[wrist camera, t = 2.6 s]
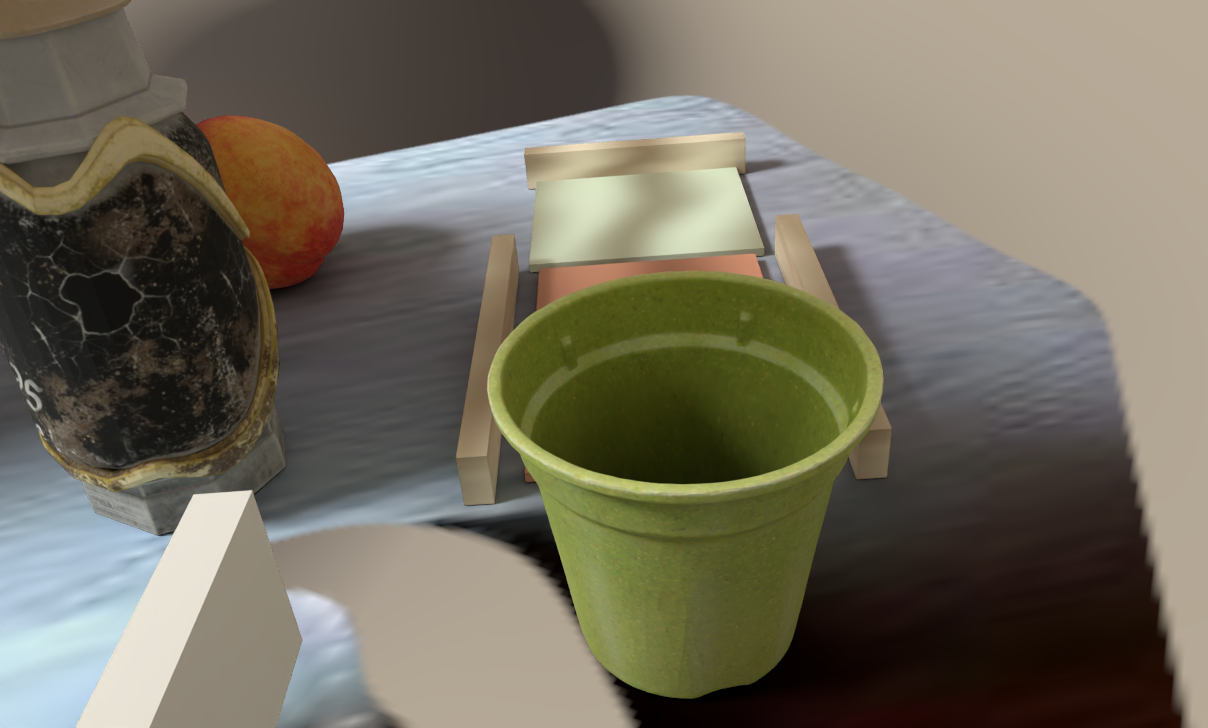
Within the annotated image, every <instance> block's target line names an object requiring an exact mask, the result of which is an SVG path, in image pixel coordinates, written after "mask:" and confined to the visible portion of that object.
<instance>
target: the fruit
mask: <svg viewBox="0 0 1208 728" xmlns="http://www.w3.org/2000/svg"><path fill="white" fill-rule="evenodd" d="M196 126H197V127H198V128H199V129H200V130H201V131H202V132H203V133H204V135H205V136H206V138H207V139H208V141H209V142H210V145H211V148H212V151H213V154H214V157H215V160H216V163H217V166H218V169H219V172H220V175H221V178H222V182H223V185H224V188H225V191H226V194H227V196H228V198H229V199H230V201H231V202H232V204H233V205H234V207H235V208H236V210H237V211H238V213H239V215H240V216H241V218H242V220H243V221H244V223H245V225H246V227H247V228H248V230H249V231H250V235H249V238H244V239H243V240H242V243H243V245H244V246H245V247H246V248H247V249H248V250H249V251H250V252H251V253H252V255H253V256H254V257H255V258H256V260H257V261H258V263H259V265H260V267H261V269H262V271H263V273H264V276H265V278H266V281H267V284H268V287H269V289H274V288H283V287H288V286H292V285H295V284H297V283H300V282H303V281H305V280H306V279H308V278H310V277H311V276H312V275H314V274H315V273H316V272H317V271H318V269H319V267H320V266H321V264H322V263H323V261H324V257H325V256H326V255H327V254H328V253H330V252H331V251H332V249H333V248H334V246H335V245H336V243H337V242H338V240H339V237H340V235H341V232H342V229H343V221H344V208H343V202H342V196H341V192H340V188H339V185H338V182H337V180H336V178H335V176H334V175H333V173H332V172H331V170H330V169H329V167H328V166H327V164H326V163H325V162H324V160H323V159H322V157H321V156H320V155H319V153H318V152H316V151H315V150H314V149H313V148H312V147H311V146H309V145H308V144H307V143H306V142H305V141H303V140H302V139H301V138H299V137H298V136H297V135H295V134H294V133H292V132H291V131H289V130H287V129H285V128H283V127H280V126H278V125H276V124H273V123H270V122H266V121H263V120H260V119H256V118H251V117H245V116H219V117H215V118H210V119H207V120H204V121H202V122H200V123H198V124H196Z"/></svg>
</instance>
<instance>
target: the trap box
mask: <svg viewBox="0 0 1208 728" xmlns="http://www.w3.org/2000/svg"><path fill="white" fill-rule="evenodd" d="M745 141H746V139H745V136H744V133H743V132H738V133H724V134H711V135H697V136H684V137H670V138H656V139H643V140H629V141H616V142H602V143H588V144H575V145H561V146H548V147H534V148H525V153H524V157H525V165H526V174H527V182H528V189H536V193H535V204H534V215H533V226H532V237H531V248H530V259H529V269H530V272H539V279H538V293H537V307H536V311H537V310H539V309H541V308H543V307H545V306H546V305H548V304H549V303H551V302H553V301H556V300H557V299H559V298H561V297H563V296H566V295H568V294H571V293H573V292H576V291H579V290H581V289H584V288H586V287H590V286H593V285H596V284H599V283H603V282H606V281H611V280H615V279H619V278H624V277H629V276H635V275H641V274H651V273H659V272H668V271H670V272H676V271H719V272H729V273H738V274H744V275H749V276H756V277H759V278H763V276H762V273H761V270H760V267H759V264H758V261H757V258H756V256H764V246H763V243H762V240H761V237H760V234H759V231H758V228H757V225H756V223H755V220H754V217H753V214H752V211H751V208H750V205H749V202H748V200H747V197H746V194H745V191H744V188H743V185H742V182H741V180H740V177H739V174H744V173H745ZM775 257H776V259H777V262H778V265H779V268H780V270H781V273H782V276H783V279H784V281H785V284H786V285H788V286H791V287H795V288H797V289H799V290H802V291H805V292H807V293H809V294H812V295H814V296H816V297H818V298H820V299H822V300H824V301H826V302H828V303H829V304H831V305H833V306H835V307H836V308H838V309H839V307H838V304H837V302H836V300H835V298H834V295H833V293H832V291H831V288H830V286H829V284H828V282H827V279H826V277H825V275H824V273H823V270H822V268H821V266H820V263H819V261H818V259H817V257H816V254H815V252H814V250H813V247H812V245H811V243H810V241H809V238H808V236H807V234H806V232H805V229H804V227H803V225H802V222H801V220H800V218H799V216H798V214H791V215H777V216H776V231H775ZM518 280H519V267H518V259H517V251H516V244H515V236H514V234H513V235H499V236H493V237H492V243H491V249H490V255H489V261H488V267H487V273H486V279H485V285H484V291H483V297H482V303H481V309H480V315H479V321H478V327H477V333H476V339H475V345H474V351H473V357H472V363H471V369H470V375H469V381H468V387H467V393H466V399H465V405H464V411H463V417H462V423H461V429H460V435H459V441H458V447H457V453H456V462H457V468H458V473H459V478H460V483H461V489H462V494H463V499H464V505H478V504H493V503H495V494H496V485H497V476H498V467H499V457H500V448H501V439H502V433H501V431H500V429H499V428H498V426H497V424H496V422H495V419H494V417H493V414H492V411H491V407H490V403H489V398H488V392H487V381H488V374H489V371H490V367H491V364H492V362H493V359H494V356H495V354H496V353H497V350H498V348H499V347H500V345H501V344H502V343H503V341H504V340H505V339H506V338H507V337H508V336H509V334H510V333H511V332H512V331H513V327H514V318H515V308H516V299H517V290H518ZM839 310H840V309H839ZM891 433H892V427H891V425H890V423H889V420H888V418H887V416H886V414H885V411H884V409H883V407H882V405H881V402H880V407H879V410H878V413H877V415H876V418H875V420H874V422H873V424H872V426H871V428H870V429H869V431H868V432H867V434H866V435H865V436H864V438H863V439H862V440H861V441H860V442H859V444H858V445H857V446H856V447H855V448H854V449H853V450H852V451H851V452H850V455H849V460H850V463H851V466H852V468H853V471H854V474H855V477H856V479H868V478H883V477H887V471H888V462H889V452H890V443H891ZM525 480H526V482H536V481H535V480H534V479H533V477H532V476H531V474H530V473H529V471H528V470H527V468H526V466H525Z"/></svg>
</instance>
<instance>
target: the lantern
mask: <svg viewBox="0 0 1208 728" xmlns="http://www.w3.org/2000/svg"><path fill="white" fill-rule="evenodd" d="M130 2H131V0H0V341H1V343H2V346H3V348H4V350H5V353H6V355H7V358H8V360H9V362H10V365H11V367H12V369H13V372H14V374H15V377H16V379H17V381H18V384H19V386H20V389H21V391H22V393H23V396H24V398H25V400H26V403H27V405H28V408H29V410H30V412H31V415H32V417H33V420H34V422H35V424H36V427H37V429H38V430H39V435H40V439H41V441H42V444H43V445H44V447H45V448H46V450H47V451H48V453H49V454H50V455H51V456H52V457H53V458H54V459H55V460H56V461H57V462H58V463H59V464H60V465H61V466H62V467H63V468H64V469H65V470H66V471H67V472H68V473H69V474H70V475H71V476H73V477H74V478H75V479H78V480H81V481H82V484H83V487H84V489H85V492H86V494H87V497H88V499H89V501H90V503H91V506H92V508H93V510H94V512H95V513H98V514H101V515H103V516H106V517H109V518H111V519H114V520H117V521H120V522H122V523H125V524H128V525H130V526H133V527H136V528H139V529H141V530H144V531H147V532H149V533H152V534H155V535H160V534H164V533H168V532H172V531H175V530H176V528H177V526H178V524H179V522H180V520H181V518H182V516H183V514H184V512H185V510H186V508H187V506H188V504H189V502H190V500H191V498H192V497H193V495H194V494H208V493H222V492H235V491H249V490H252V491H253V494H254V493H256V492H257V491H258V490H259V489H260V488H261V487H263V486H264V485H265V484H266V483H267V482H268V481H270V480H271V479H272V478H273V477H274V476H275V475H277V474H278V473H279V472H280V471H281V470H282V469H284V468H285V466H286V460H285V443H284V431H283V428H282V425H281V421H280V418H279V415H278V412H277V409H276V407H275V405H274V398H275V392H276V386H277V379H278V375H279V355H278V337H277V324H276V318H275V312H274V306H273V302H272V298H271V294H270V290H269V287H268V284H267V281H266V278H265V276H264V273H263V271H262V269H261V267H260V265H259V263H258V261H257V260H256V258H255V257H254V256H253V255H252V253H251V252H250V251H249V250H248V249H247V248H246V247H245V246H244V245H243V243H242V240H243V239H244V238H249V235H250V231H249V230H248V228H247V227H246V225H245V223H244V221H243V220H242V218H241V216H240V215H239V213H238V211H237V210H236V208H235V207H234V205H233V204H232V202H231V201H230V199H229V198H228V196H227V194H226V191H225V188H224V185H223V182H222V178H221V175H220V172H219V169H218V166H217V163H216V160H215V157H214V154H213V151H212V148H211V145H210V142H209V141H208V139H207V138H206V136H205V135H204V133H203V132H202V131H201V130H200V129H199V128H198V127H197V126H196V125H195V124H194V123H193V122H192V121H191V120H190V119H189V118H188V117H187V116H186V115H184V113H183V112H182V111H183V110H185V107H186V95H187V84H186V82H185V80H184V79H178V78H172V77H166V76H160V75H154V74H151V72H150V70H149V68H148V66H147V64H146V61H145V59H144V56H143V54H142V52H141V49H140V47H139V45H138V42H137V40H136V37H135V35H134V33H133V31H132V28H131V26H130V23H129V21H128V18H127V16H126V14H125V11H124V9H123V7H125V6H126V5H128V4H129V3H130Z"/></svg>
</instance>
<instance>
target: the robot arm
mask: <svg viewBox="0 0 1208 728" xmlns="http://www.w3.org/2000/svg"><path fill="white" fill-rule="evenodd" d="M301 643H302V637H301V634H300V631H299V628H298V625H297V622H296V619H295V616H294V613H293V610H292V607H291V604H290V601H289V598H288V596H287V593H286V590H285V587H284V584H283V581H282V578H281V575H280V572H279V569H278V566H277V563H276V560H275V557H274V554H273V551H272V548H271V545H270V542H269V539H268V536H267V533H266V530H265V527H264V524H263V521H262V518H261V515H260V512H259V509H258V506H257V503H256V500H255V497H254V494H253V491H252V490H249V491H235V492H222V493H208V494H194V495H193V497H192V498H191V500H190V502H189V504H188V506H187V508H186V510H185V512H184V514H183V516H182V518H181V520H180V522H179V524H178V526H177V528H176V530H175V532H174V534H173V536H172V538H171V540H170V542H169V544H168V546H167V548H166V550H165V552H164V554H163V556H162V558H161V560H160V562H159V563H158V565H157V567H156V569H155V571H154V573H153V575H152V577H151V579H150V581H149V583H148V585H147V587H146V589H145V591H144V593H143V595H142V597H141V599H140V601H139V603H138V605H137V607H136V609H135V611H134V613H133V615H132V617H131V619H130V621H129V623H128V625H127V627H126V628H125V630H124V632H123V634H122V636H121V638H120V640H119V642H118V644H117V646H116V648H115V650H114V652H113V654H112V656H111V658H110V660H109V662H108V664H107V666H106V668H105V670H104V672H103V674H102V676H101V678H100V680H99V682H98V684H97V686H96V688H95V690H94V692H93V694H92V695H91V697H90V699H89V701H88V703H87V705H86V707H85V709H84V711H83V713H82V715H81V717H80V719H79V721H78V723H77V725H76V727H75V728H276V725H277V721H278V718H279V715H280V712H281V708H282V705H283V702H284V699H285V695H286V692H287V689H288V685H289V682H290V679H291V676H292V672H293V669H294V666H295V663H296V659H297V656H298V653H299V650H300V646H301Z"/></svg>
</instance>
